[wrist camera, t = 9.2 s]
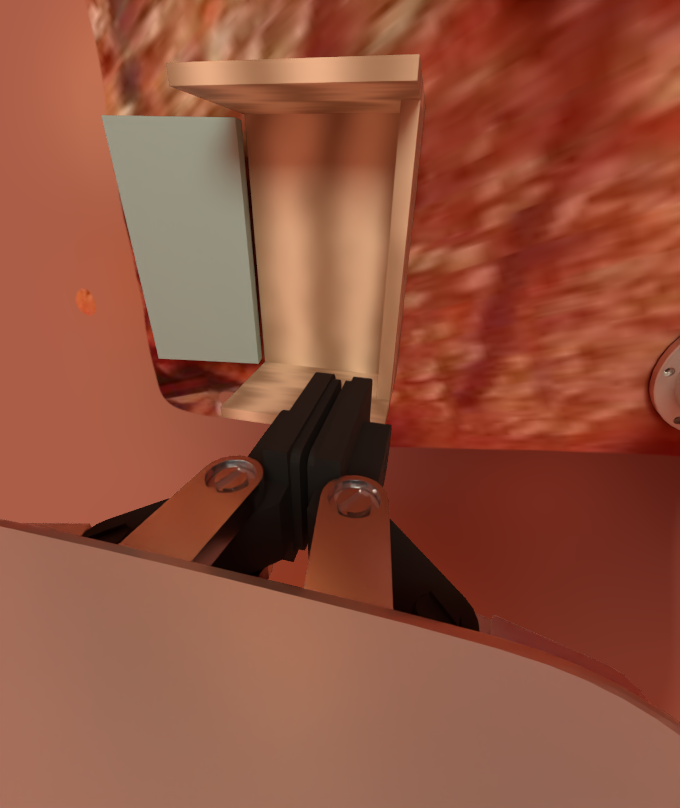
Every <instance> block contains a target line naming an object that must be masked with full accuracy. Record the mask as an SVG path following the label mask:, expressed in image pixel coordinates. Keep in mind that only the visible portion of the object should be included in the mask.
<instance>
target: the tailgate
mask: <svg viewBox="0 0 680 808" xmlns="http://www.w3.org/2000/svg"><path fill="white" fill-rule="evenodd" d="M102 120H103V124H104V128H105V132H106V137H107V141H108V145H109V150H110V154H111V158H112V162H113V166H114V171H115V175H116V179H117V183H118V188H119V192H120V196H121V200H122V204H123V209H124V213H125V217H126V221H127V226H128V230H129V234H130V238H131V243H132V247H133V251H134V255H135V259H136V264H137V268H138V272H139V276H140V281H141V285H142V289H143V293H144V297H145V302H146V306H147V310H148V314H149V319H150V323H151V327H152V331H153V336H154V340H155V344H156V348H157V352H158V357H159V358H161V359H180V360H198V361H217V362H236V363H254V364H259V362H260V361H261V359H262V351H261V340H260V328H259V317H258V305H257V294H256V283H255V271H254V260H253V248H252V237H251V226H250V214H249V203H248V191H247V180H246V169H245V157H244V146H243V134H242V123H241V120H239V119H237V118H230V117H170V116H110V115H102Z"/></svg>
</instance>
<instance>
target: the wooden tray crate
mask: <svg viewBox="0 0 680 808" xmlns="http://www.w3.org/2000/svg"><path fill="white" fill-rule="evenodd" d="M166 67H167V74H168V80H169V86H171V87H174V88H176V89H179V90H182V91H184V92H187V93H190V94H192V95H195V96H197V97H200V98H203V99H205V100H208V101H211V102H213V103H216V104H219V105H221V106H224V107H226V108H229V109H232V110H234V111H237V112H240V113H242V114H244V115H245V127H246V139H247V151H248V163H249V175H250V187H251V199H252V211H253V223H254V235H255V246H256V258H257V270H258V282H259V294H260V306H261V318H262V330H263V342H264V354H265V362H264V363H263V364H262V365H261V366H260V367H259V368H258V369H257V370H256V371H255V373H254V374H253V375H252V376H251V377H250V378H249V379H248V380H247V381H246V382H245V383H244V384H243V385H242V386H241V387H240V388H239V389H238V390H237V391H236V392H235V393H234V394H233V395H232V396H231V397H230V398H229V399H228V400H227V401H226V402H225V403H224V404H223V405H222V406H221V413H222V417H224V418H231V419H238V420H245V421H252V422H259V423H266V424H272V422H273V421H274V420H275V418H276V417H277V416H278V414H279V413H280V412H281V411H282V410H290V409H291V407H292V406H293V404H294V403H295V401H296V400H297V399H298V397H299V396H300V394H301V393H302V391H303V390H304V388H305V387H306V386H307V384H308V383H309V381H310V380H311V378H312V377H313V375H314V374H315V373H316V372H321V373H329V374H335V377H336V379H339V380H341V382H342V387H343V385H344V383H345V381H346V380H347V381H351V380H352V378H353V377H362V378H371V379H372V380H373V384H372V399H371V413H370V422H374V423H381V424H386V420H387V415H388V410H389V406H390V401H391V396H392V391H393V387H394V382H395V377H396V372H397V363H398V354H399V344H400V335H401V326H402V317H403V307H404V298H405V289H406V280H407V270H408V261H409V252H410V243H411V233H412V224H413V215H414V206H415V197H416V187H417V178H418V169H419V160H420V150H421V141H422V132H423V123H424V113H425V104H426V103H425V95H424V86H423V78H422V70H421V61H420V54H412V55H382V56H352V57H323V58H293V59H264V60H234V61H205V62H175V63H166Z"/></svg>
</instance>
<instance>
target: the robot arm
mask: <svg viewBox="0 0 680 808" xmlns="http://www.w3.org/2000/svg"><path fill="white" fill-rule="evenodd" d="M372 384H373V380H372V379H371V378H362V377H353V378H352V380H351V381H347V380H346V381H345V383H344V385H343V387H342V382H341V380H339V379H336V377H335V374H329V373H321V372H316V373H315V374H314V375H313V377H312V378H311V380H310V381H309V383H308V384H307V386H306V387H305V388H304V390H303V391H302V393H301V394H300V396H299V397H298V399H297V400H296V401H295V403H294V404H293V406H292V407H291V409H290V410H282V411H281V412H280V413H279V414H278V416H277V417H276V418H275V420H274V421H273V422H272V424H271V425H270V427H269V428H268V429H267V431H266V432H265V433H264V435H263V436H262V438H261V439H260V440H259V442H258V443H257V444H256V446H255V447H254V449H253V450H252V451H251V453H250V454H249V456H248V457H246V456H228V457H224V458H220V459H218V460H215V461H213V462H211V463H210V464H209V465H207V466H206V467H204V468H203V469H202V470H201V471H200V472H199V473H198V474H196V475H195V476H194V477H193V478H192V479H191V480H190V481H189V482H187V483H186V484H185V485H184V486H183V487H182V488H181V489H180V490H179V491H177V492H176V493H175V494H174V495H173V496H172V497H171V498H169V499H166V500H163V501H160V502H157V503H154V504H151V505H148V506H145V507H143V508H139V509H137V510H134V511H131V512H128V513H125V514H122V515H119V516H116V517H113V518H110V519H108V520H105V521H103V522H101V523H99V524H96V525H95V526H93V527H91V525H90V524H67V523H66V524H64V523H62V524H61V523H56V524H55V523H18V522H13V521H8V520H3V519H0V808H680V722H679V721H678V720H676V719H675V718H673V717H672V716H671V715H669V714H668V713H666V712H665V711H663V710H661V709H660V708H658V707H656V706H654V705H653V704H651V703H650V702H648V700H647V699H646V697H645V696H644V695H643V693H642V692H641V690H640V689H639V688H638V687H636V686H635V685H634V684H633V683H632V682H631V681H630V680H629V679H628V678H627V677H626V676H625V675H623V674H622V673H620V672H618V671H617V670H615V669H613V668H612V667H610V666H608V665H607V664H604V663H602V662H600V661H597V660H595V659H593V658H591V657H588V656H586V655H584V654H581V653H579V652H577V651H574V650H572V649H570V648H568V647H565V646H563V645H561V644H559V643H556V642H554V641H552V640H550V639H547V638H545V637H543V636H540V635H538V634H536V633H534V632H531V631H529V630H527V629H525V628H522V627H520V626H518V625H515V624H513V623H511V622H509V621H506V620H504V619H502V618H499V617H497V616H495V615H494V616H493V618H492V620H489V619H488V618H485V617H483V616H481V615H478V614H476V613H475V612H474V610H473V608H472V607H471V605H470V604H469V603H468V601H467V600H466V598H465V597H463V595H462V594H461V593H460V592H459V591H458V590H457V589H456V588H455V587H454V586H453V585H452V584H451V583H450V582H449V581H448V580H447V579H446V577H445V576H444V575H443V574H442V573H441V572H440V571H439V570H438V569H437V568H436V567H435V566H434V565H433V564H432V563H431V562H430V560H429V559H428V558H427V557H426V556H425V555H424V554H423V553H422V552H421V551H420V550H419V549H418V548H417V547H416V546H415V545H414V544H413V543H412V542H411V540H410V539H409V538H408V537H407V536H406V535H405V534H404V533H403V532H402V531H401V530H400V529H399V528H398V527H397V526H396V525H395V524H394V522H393V521H391V519H390V518H389V499H388V496H387V492H386V491H385V490H384V488H383V485H384V480H385V475H386V468H387V462H388V455H389V447H390V437H391V425H388V424H381V423H374V422H370V413H371V399H372ZM649 393H650V397H651V402H652V404H653V406H654V408H655V410H656V412H657V413H658V414H659V415H660V416H661V417H662V418H663V419H664V420H665V421H666V422H667V423H668V424H669V425H671V426H672V427H674V428H676V429H678V430H680V337H679V338H678V339H677V340H676V341H675V342H674V343H673V344H672V345H671V346H669V348H668V349H667V350H666V351H665V353H664V354H663V355H662V356H661V358H660V359H659V361H658V363H657V365H656V366H655V368H654V370H653V373H652V377H651V380H650V391H649ZM307 544H308V554H309V562H308V568H307V573H306V579H305V584H304V588H300V587H297V586H292V585H288V584H284V583H280V582H275V581H271V580H268V579H269V577H270V575H271V573H272V568H273V563H276V562H278V561H280V560H282V559H283V560H287V561H291V562H294V559H295V557H296V554H297V552H298V550H299V549H300V550H305V549H306V547H307Z"/></svg>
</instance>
